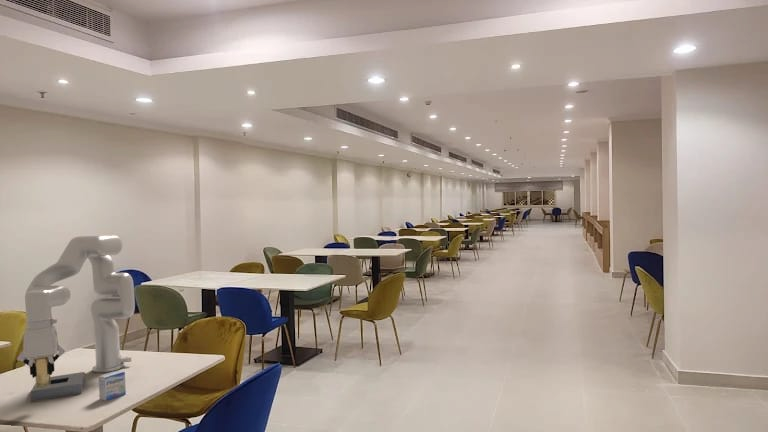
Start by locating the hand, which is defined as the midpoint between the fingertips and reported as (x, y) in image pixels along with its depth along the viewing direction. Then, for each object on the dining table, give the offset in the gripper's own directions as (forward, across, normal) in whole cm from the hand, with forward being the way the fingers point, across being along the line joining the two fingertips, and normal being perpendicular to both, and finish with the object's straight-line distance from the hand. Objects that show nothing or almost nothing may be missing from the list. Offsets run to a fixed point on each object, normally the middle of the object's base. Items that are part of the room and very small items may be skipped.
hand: (42, 374), depth 183 cm
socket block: (+12, -3, -17) cm, 21 cm away
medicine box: (+12, -22, +1) cm, 25 cm away
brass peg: (+4, 0, 0) cm, 4 cm away
